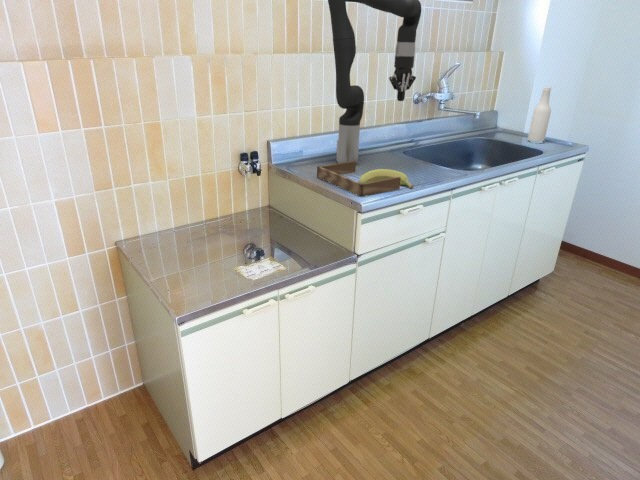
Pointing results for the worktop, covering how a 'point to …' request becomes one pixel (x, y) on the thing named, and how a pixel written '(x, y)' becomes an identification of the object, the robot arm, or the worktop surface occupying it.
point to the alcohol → (540, 117)
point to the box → (334, 177)
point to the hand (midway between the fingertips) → (400, 100)
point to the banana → (384, 176)
